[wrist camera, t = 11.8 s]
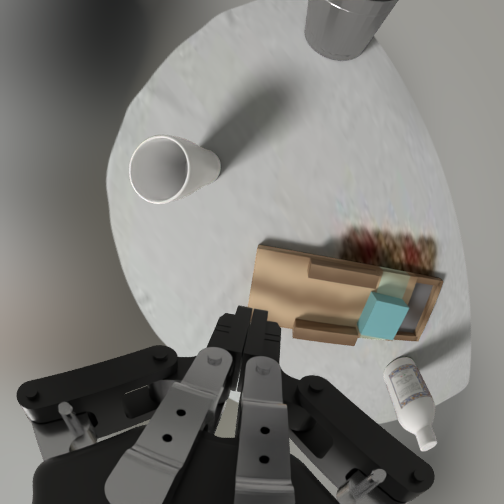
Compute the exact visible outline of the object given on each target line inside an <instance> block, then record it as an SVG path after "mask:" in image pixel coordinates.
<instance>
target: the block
mask: <svg viewBox="0 0 504 504" xmlns="http://www.w3.org/2000/svg"><path fill="white" fill-rule="evenodd" d="M408 310H409V307H408V306H407V304H406V303H405V302H404V301H403V299H400V298H396V297H392V296H388V295H384V294H380V293H376V292H372V291H371V293H370V295H369V298H368V300H367V302H366V305H365V307H364V309H363V311H362V314H361V316H360V318H359V320H358V322H357V326H358V329H359V331H360V334H361V335H365V336H370V337H376V338H382V339H388V340H393V339H394V337H395V335H396V333H397V331H398V329H399V327H400V326H401V324H402V322H403V320H404V318H405V316H406V314H407V312H408Z"/></svg>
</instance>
